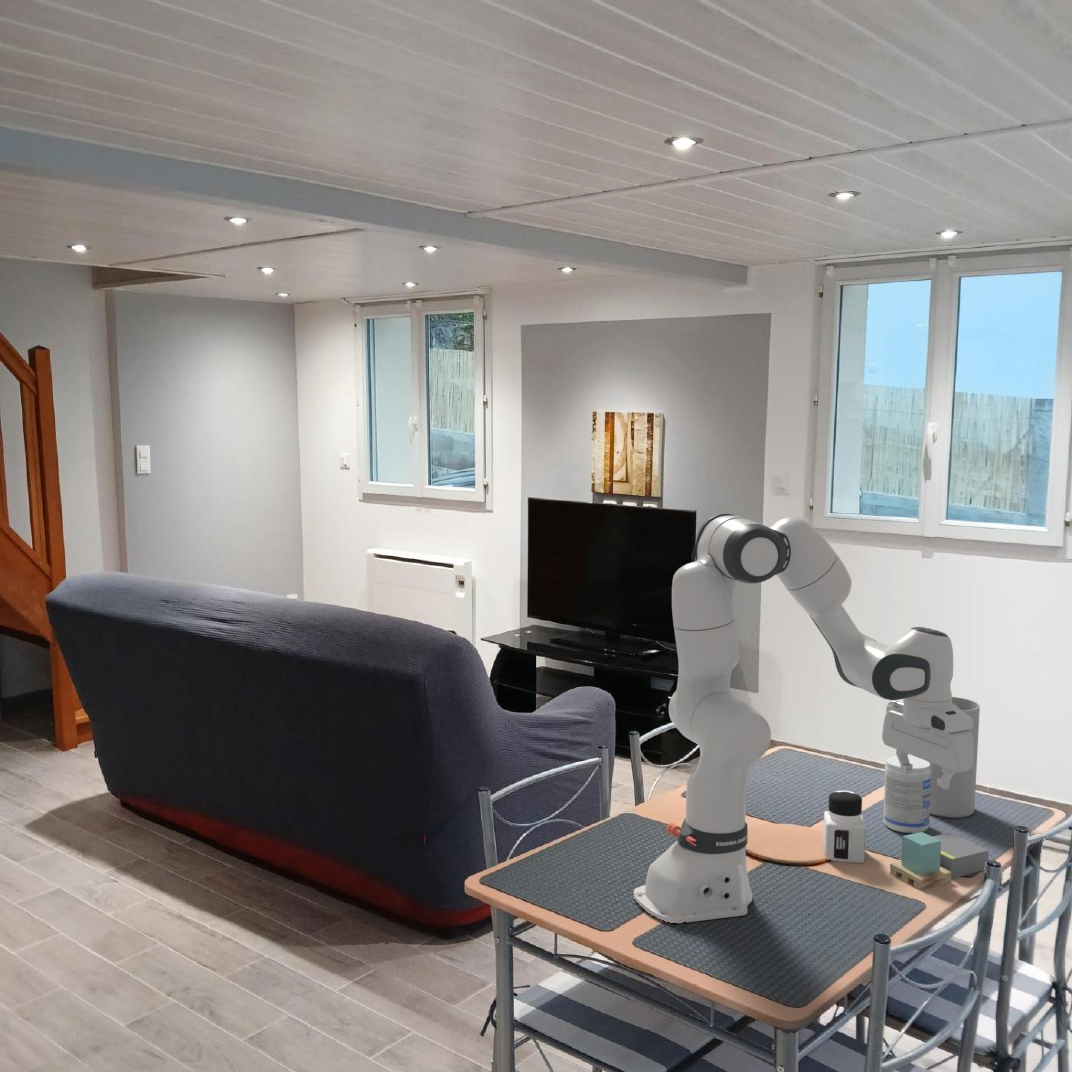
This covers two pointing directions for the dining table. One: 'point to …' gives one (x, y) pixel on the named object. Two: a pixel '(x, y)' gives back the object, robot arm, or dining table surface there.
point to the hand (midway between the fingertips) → (924, 780)
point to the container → (844, 828)
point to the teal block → (921, 853)
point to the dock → (961, 855)
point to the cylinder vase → (957, 776)
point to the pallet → (920, 876)
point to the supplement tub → (907, 796)
